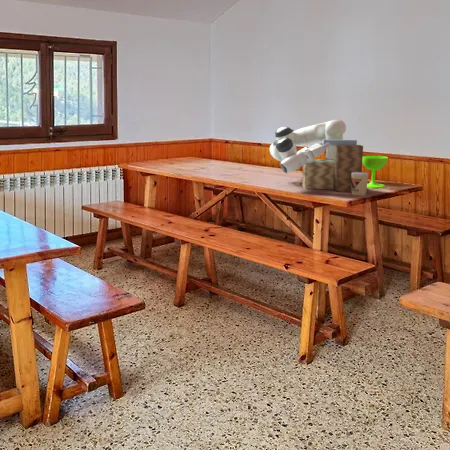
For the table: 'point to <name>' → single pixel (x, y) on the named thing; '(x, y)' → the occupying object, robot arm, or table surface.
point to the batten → (341, 142)
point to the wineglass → (374, 168)
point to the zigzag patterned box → (318, 174)
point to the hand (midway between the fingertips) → (328, 142)
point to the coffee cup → (359, 183)
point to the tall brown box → (346, 165)
